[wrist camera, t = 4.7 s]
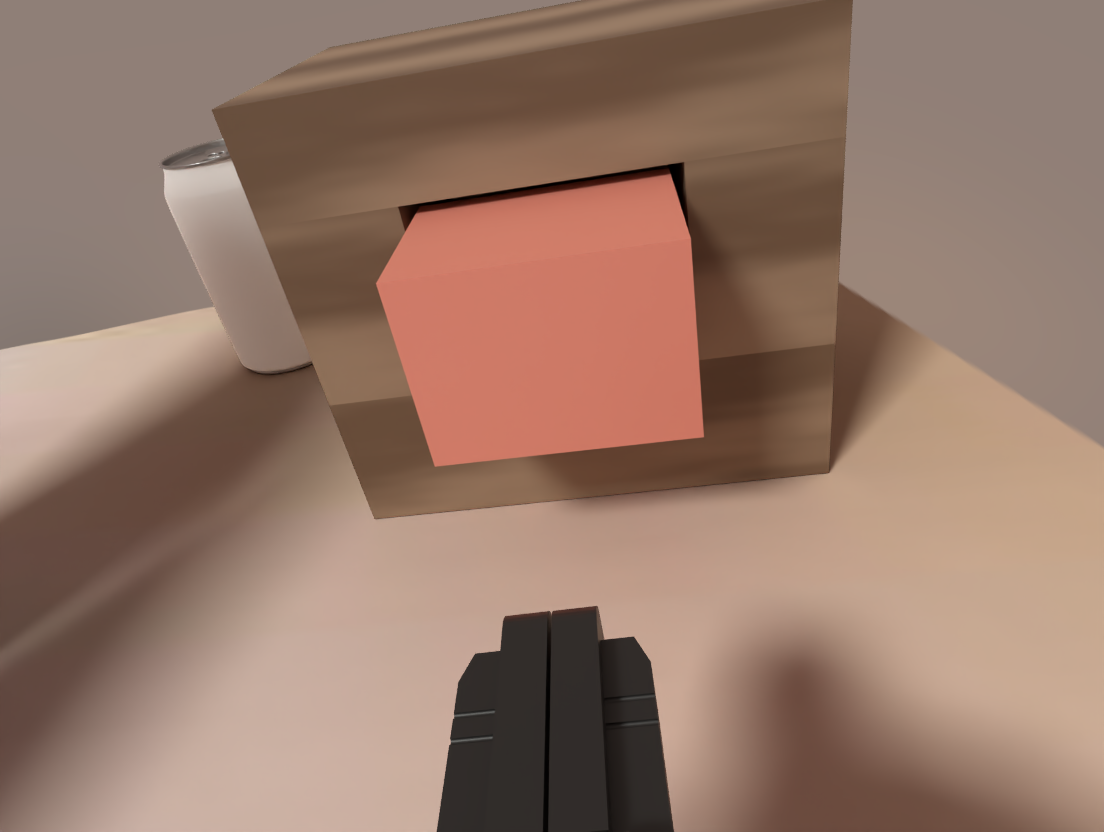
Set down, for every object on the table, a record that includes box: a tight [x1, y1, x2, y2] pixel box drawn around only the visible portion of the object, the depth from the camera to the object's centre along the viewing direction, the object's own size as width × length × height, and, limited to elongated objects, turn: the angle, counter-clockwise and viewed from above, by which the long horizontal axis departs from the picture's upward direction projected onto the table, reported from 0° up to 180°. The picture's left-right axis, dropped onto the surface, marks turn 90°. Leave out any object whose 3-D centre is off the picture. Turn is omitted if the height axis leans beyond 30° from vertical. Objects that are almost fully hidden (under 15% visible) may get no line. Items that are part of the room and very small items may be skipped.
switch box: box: [212, 0, 853, 519], centre depth 30 cm, size 12×18×16 cm, turn 87°
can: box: [159, 138, 313, 374], centre depth 42 cm, size 6×6×12 cm
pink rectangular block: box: [376, 168, 704, 467], centre depth 23 cm, size 6×8×6 cm
